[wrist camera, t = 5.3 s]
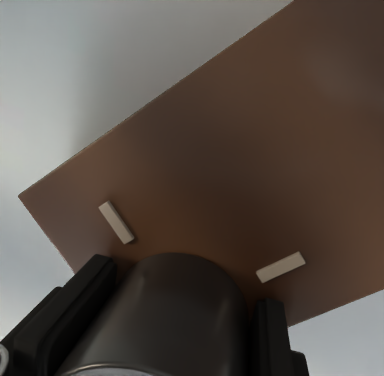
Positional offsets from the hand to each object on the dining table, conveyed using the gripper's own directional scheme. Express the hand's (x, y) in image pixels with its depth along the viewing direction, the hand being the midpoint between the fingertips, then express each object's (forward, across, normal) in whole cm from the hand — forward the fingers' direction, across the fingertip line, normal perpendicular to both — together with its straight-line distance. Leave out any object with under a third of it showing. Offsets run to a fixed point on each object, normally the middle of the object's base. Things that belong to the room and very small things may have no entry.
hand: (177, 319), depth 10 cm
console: (+3, -1, -2) cm, 4 cm away
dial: (0, 0, 0) cm, 0 cm away
